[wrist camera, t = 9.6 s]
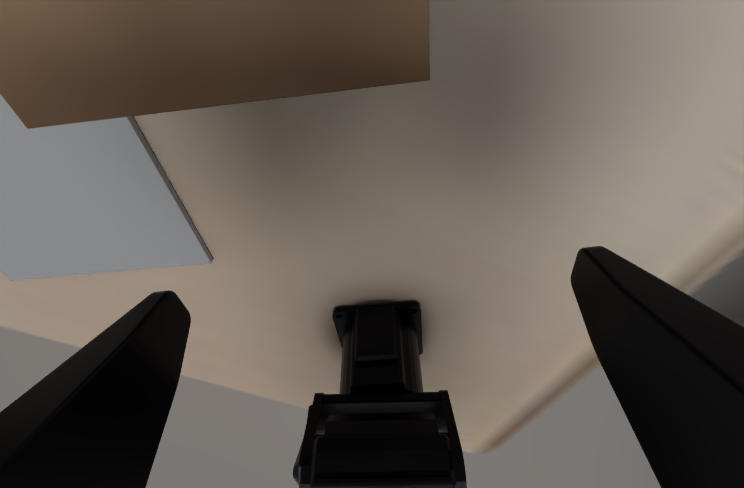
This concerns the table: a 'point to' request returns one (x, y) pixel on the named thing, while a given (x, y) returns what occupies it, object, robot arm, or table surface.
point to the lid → (199, 53)
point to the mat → (87, 202)
